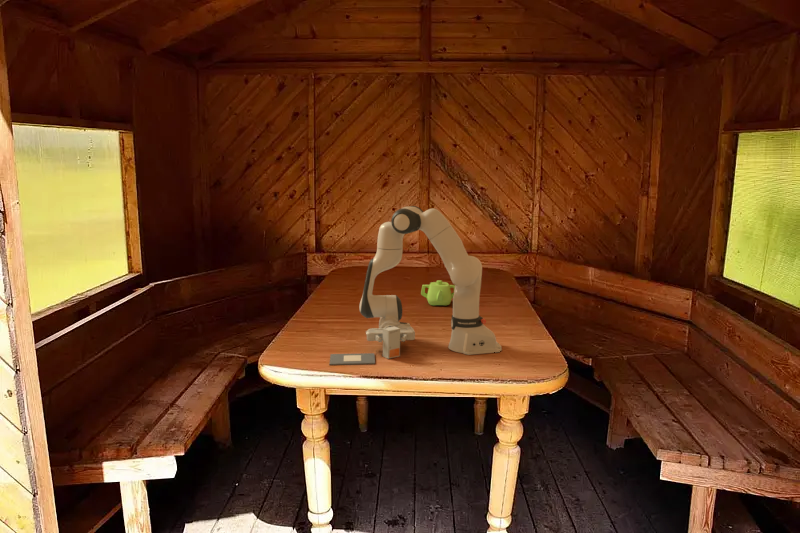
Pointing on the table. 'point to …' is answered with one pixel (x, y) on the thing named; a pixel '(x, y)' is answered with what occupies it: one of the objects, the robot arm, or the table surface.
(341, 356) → the rubber mat
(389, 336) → the skincare box
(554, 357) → the table surface
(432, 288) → the teapot
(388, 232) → the robot arm
